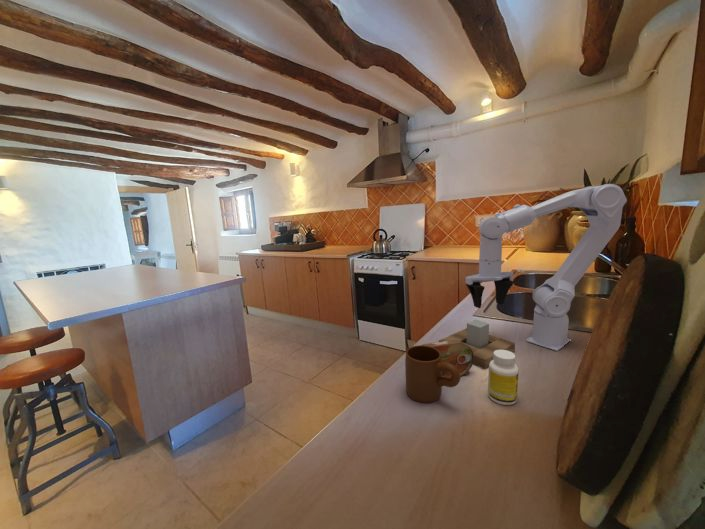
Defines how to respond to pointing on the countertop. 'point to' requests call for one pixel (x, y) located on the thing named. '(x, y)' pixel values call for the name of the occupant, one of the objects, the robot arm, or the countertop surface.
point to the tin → (454, 355)
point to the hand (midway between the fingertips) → (488, 305)
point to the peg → (477, 334)
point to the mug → (427, 373)
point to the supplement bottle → (503, 378)
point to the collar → (486, 353)
